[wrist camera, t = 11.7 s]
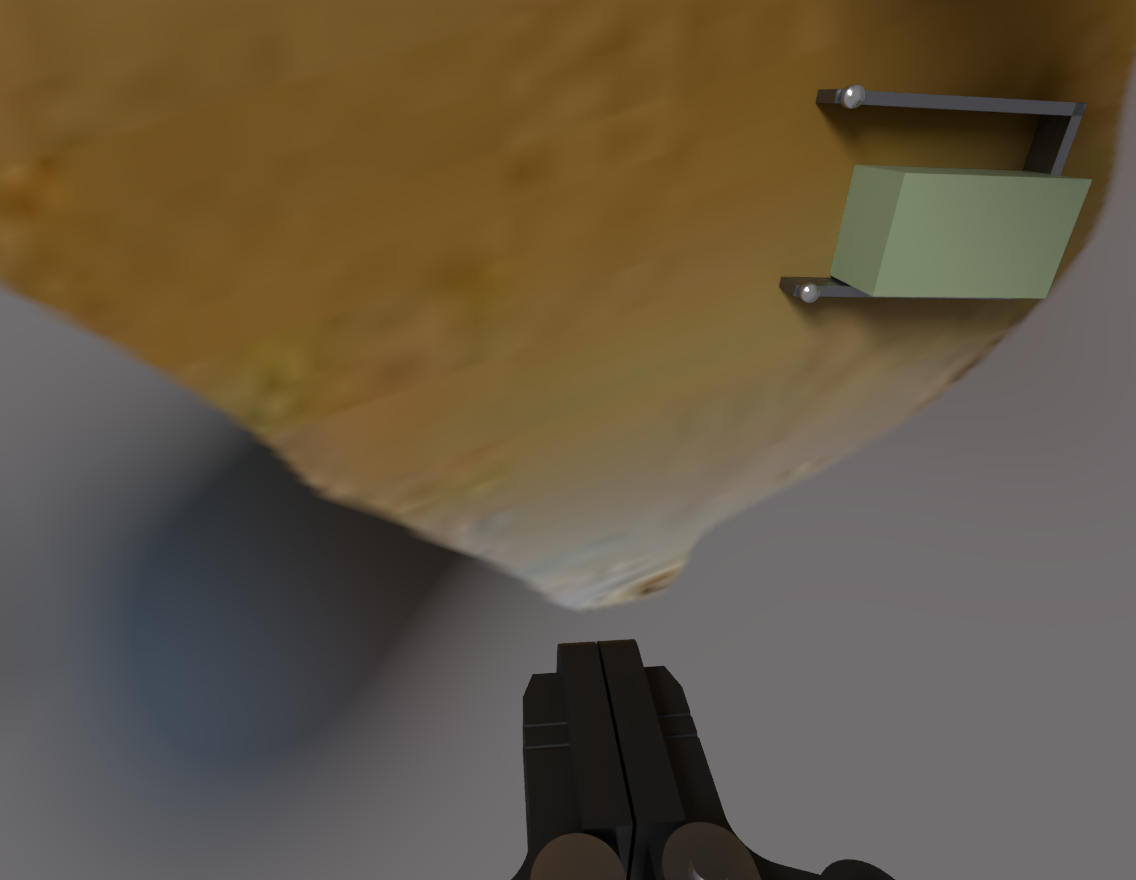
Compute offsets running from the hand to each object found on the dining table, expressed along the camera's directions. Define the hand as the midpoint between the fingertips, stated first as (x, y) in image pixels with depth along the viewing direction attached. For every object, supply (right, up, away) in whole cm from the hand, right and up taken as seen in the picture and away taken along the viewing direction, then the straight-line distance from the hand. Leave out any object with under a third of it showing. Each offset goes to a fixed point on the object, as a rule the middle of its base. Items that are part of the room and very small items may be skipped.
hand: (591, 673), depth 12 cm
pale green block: (+20, +17, +25) cm, 36 cm away
